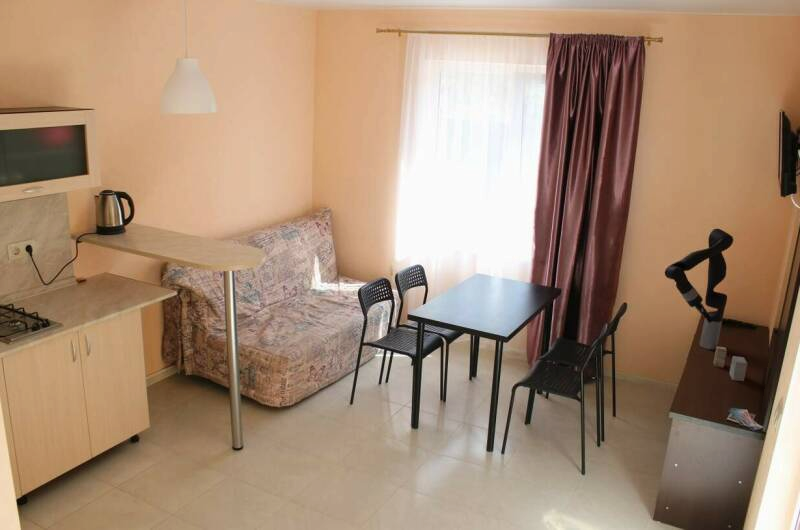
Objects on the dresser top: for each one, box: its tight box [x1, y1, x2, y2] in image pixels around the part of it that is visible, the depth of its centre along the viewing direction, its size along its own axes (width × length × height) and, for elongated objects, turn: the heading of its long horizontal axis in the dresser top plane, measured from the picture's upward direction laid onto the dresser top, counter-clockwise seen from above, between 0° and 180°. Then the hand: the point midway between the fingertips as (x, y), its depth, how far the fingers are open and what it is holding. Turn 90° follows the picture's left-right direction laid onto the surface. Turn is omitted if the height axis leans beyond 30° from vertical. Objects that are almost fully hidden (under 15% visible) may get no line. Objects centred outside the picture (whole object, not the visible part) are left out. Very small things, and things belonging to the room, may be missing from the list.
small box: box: [729, 355, 748, 382], centre depth 376 cm, size 8×6×10 cm
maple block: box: [712, 345, 728, 368], centre depth 390 cm, size 4×4×10 cm
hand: (708, 319), depth 385 cm, fingers open, 8 cm apart
